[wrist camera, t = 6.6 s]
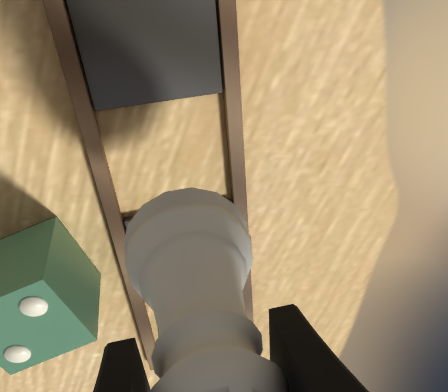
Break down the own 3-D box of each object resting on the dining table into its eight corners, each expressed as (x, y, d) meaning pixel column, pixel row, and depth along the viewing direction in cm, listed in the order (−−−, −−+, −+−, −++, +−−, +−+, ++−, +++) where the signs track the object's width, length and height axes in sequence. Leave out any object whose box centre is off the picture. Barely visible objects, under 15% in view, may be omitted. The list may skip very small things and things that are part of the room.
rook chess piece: (212, 299, 17) (264, 522, 10) (104, 266, 15) (76, 503, 8) (267, 208, 16) (374, 393, 9) (154, 161, 14) (171, 342, 7)
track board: (252, 340, 27) (254, 347, 26) (150, 363, 26) (150, 370, 25) (228, -80, 14) (231, -79, 14) (28, -60, 13) (25, -59, 13)
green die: (27, 304, 21) (10, 376, 18) (-26, 250, 19) (-57, 321, 16) (100, 274, 21) (97, 341, 18) (56, 216, 19) (42, 280, 16)
